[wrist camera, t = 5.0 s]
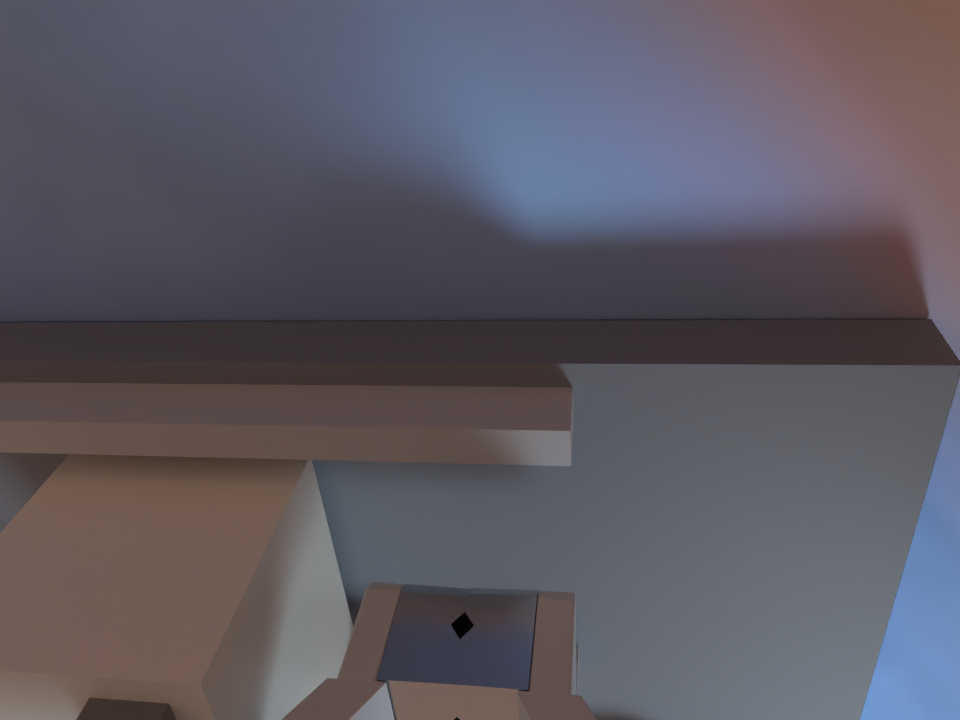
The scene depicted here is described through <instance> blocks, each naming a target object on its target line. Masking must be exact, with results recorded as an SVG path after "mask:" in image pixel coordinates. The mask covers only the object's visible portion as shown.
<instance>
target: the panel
mask: <svg viewBox="0 0 960 720" xmlns="http://www.w3.org/2000/svg"><path fill="white" fill-rule="evenodd" d="M959 377H960V361H959V359H958V358H957V356H956V355H955V353H954V352H953V351H952V349H951V348H950V346H949V345H948V343H947V342H946V340H945V339H944V337H943V336H942V334H941V333H940V331H939V330H938V328H937V327H936V326H935V324H934V323H933V321H932V320H931V319H852V320H570V321H288V322H6V323H0V533H1V531H2V530H3V529H4V528H5V527H6V526H7V525H8V523H9V522H10V521H11V520H12V519H13V518H14V517H15V515H16V514H17V513H18V512H19V511H20V510H21V509H22V507H23V506H24V505H25V504H26V503H27V502H28V501H29V499H30V498H31V497H32V496H33V495H34V494H35V493H36V492H37V490H38V489H39V488H40V487H41V486H42V485H43V484H44V482H45V481H46V480H47V479H48V478H49V477H50V476H51V474H52V473H53V472H54V471H55V470H56V469H57V468H58V466H59V465H60V464H61V463H62V462H63V461H64V460H65V458H66V457H67V456H68V455H69V454H88V455H129V456H170V457H211V458H252V459H293V460H312V462H313V466H314V470H315V474H316V479H317V483H318V487H319V491H320V495H321V499H322V503H323V507H324V511H325V515H326V519H327V523H328V527H329V531H330V535H331V539H332V543H333V547H334V551H335V555H336V559H337V563H338V567H339V571H340V575H341V579H342V583H343V587H344V591H345V595H346V599H347V603H348V607H349V612H350V616H351V620H352V624H353V627H354V624H355V621H356V618H357V615H358V612H359V609H360V606H361V603H362V599H363V596H364V593H365V591H366V589H367V588H368V586H369V585H370V584H371V582H380V583H395V584H413V585H426V586H439V587H452V588H465V589H471V588H491V589H518V590H539V591H552V592H572V593H575V598H576V680H577V684H576V695H579V696H582V697H583V699H584V700H585V702H586V703H587V705H588V707H589V708H590V710H591V711H592V713H593V715H594V716H595V718H596V719H597V720H860V717H861V714H862V710H863V707H864V704H865V700H866V697H867V693H868V690H869V686H870V683H871V679H872V676H873V673H874V669H875V666H876V662H877V659H878V655H879V652H880V648H881V645H882V642H883V638H884V635H885V631H886V628H887V624H888V621H889V617H890V614H891V611H892V607H893V604H894V600H895V597H896V593H897V590H898V587H899V583H900V580H901V576H902V573H903V569H904V566H905V562H906V559H907V556H908V552H909V549H910V545H911V542H912V538H913V535H914V531H915V528H916V525H917V521H918V518H919V514H920V511H921V507H922V504H923V500H924V497H925V494H926V490H927V487H928V483H929V480H930V476H931V473H932V470H933V466H934V463H935V459H936V456H937V452H938V449H939V445H940V442H941V439H942V435H943V432H944V428H945V425H946V421H947V418H948V414H949V411H950V408H951V404H952V401H953V397H954V394H955V390H956V387H957V383H958V380H959Z"/></svg>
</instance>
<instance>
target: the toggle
mask: <svg viewBox="0 0 960 720" xmlns="http://www.w3.org/2000/svg"><path fill="white" fill-rule="evenodd" d="M352 630H353V624H352V620H351V616H350V612H349V607H348V603H347V599H346V595H345V591H344V587H343V583H342V579H341V575H340V571H339V567H338V563H337V559H336V555H335V551H334V547H333V543H332V539H331V535H330V531H329V527H328V523H327V519H326V515H325V511H324V507H323V503H322V499H321V495H320V491H319V487H318V483H317V479H316V474H315V470H314V466H313V462H312V460H293V459H252V458H211V457H170V456H129V455H88V454H69V455H68V456H67V457H66V458H65V460H64V461H63V462H62V463H61V464H60V465H59V466H58V468H57V469H56V470H55V471H54V472H53V473H52V474H51V476H50V477H49V478H48V479H47V480H46V481H45V482H44V484H43V485H42V486H41V487H40V488H39V489H38V490H37V492H36V493H35V494H34V495H33V496H32V497H31V498H30V499H29V501H28V502H27V503H26V504H25V505H24V506H23V507H22V509H21V510H20V511H19V512H18V513H17V514H16V515H15V517H14V518H13V519H12V520H11V521H10V522H9V523H8V525H7V526H6V527H5V528H4V529H3V530H2V531H1V533H0V720H281V719H283V718H284V717H285V716H286V715H287V714H288V713H289V712H290V711H291V710H292V709H294V708H295V707H296V706H297V705H298V704H299V703H300V702H301V701H302V700H304V699H305V698H306V697H307V696H308V695H309V694H310V693H311V692H312V691H313V690H315V689H316V688H317V687H318V686H319V685H320V684H321V683H322V682H323V681H324V680H326V679H327V678H337V677H338V674H339V671H340V668H341V665H342V661H343V658H344V655H345V652H346V649H347V646H348V643H349V640H350V637H351V634H352Z"/></svg>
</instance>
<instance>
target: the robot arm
mask: <svg viewBox="0 0 960 720" xmlns="http://www.w3.org/2000/svg"><path fill="white" fill-rule="evenodd" d="M576 684H577V680H576V598H575V593H572V592H552V591H539V590H518V589H491V588H471V589H465V588H452V587H439V586H426V585H413V584H395V583H380V582H371V584H370V585H369V586H368V588H367V589H366V591H365V593H364V596H363V599H362V603H361V606H360V609H359V612H358V615H357V618H356V621H355V624H354V627H353V630H352V634H351V637H350V640H349V643H348V646H347V649H346V652H345V655H344V658H343V661H342V665H341V668H340V671H339V674H338V677H337V678H327V679H326V680H324V681H323V682H322V683H321V684H320V685H319V686H318V687H317V688H316V689H315V690H313V691H312V692H311V693H310V694H309V695H308V696H307V697H306V698H305V699H304V700H302V701H301V702H300V703H299V704H298V705H297V706H296V707H295V708H294V709H292V710H291V711H290V712H289V713H288V714H287V715H286V716H285V717H284V718H283V719H281V720H597V719H596V718H595V716H594V715H593V713H592V711H591V710H590V708H589V707H588V705H587V703H586V702H585V700H584V699H583V697H582V696H579V695H576Z"/></svg>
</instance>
